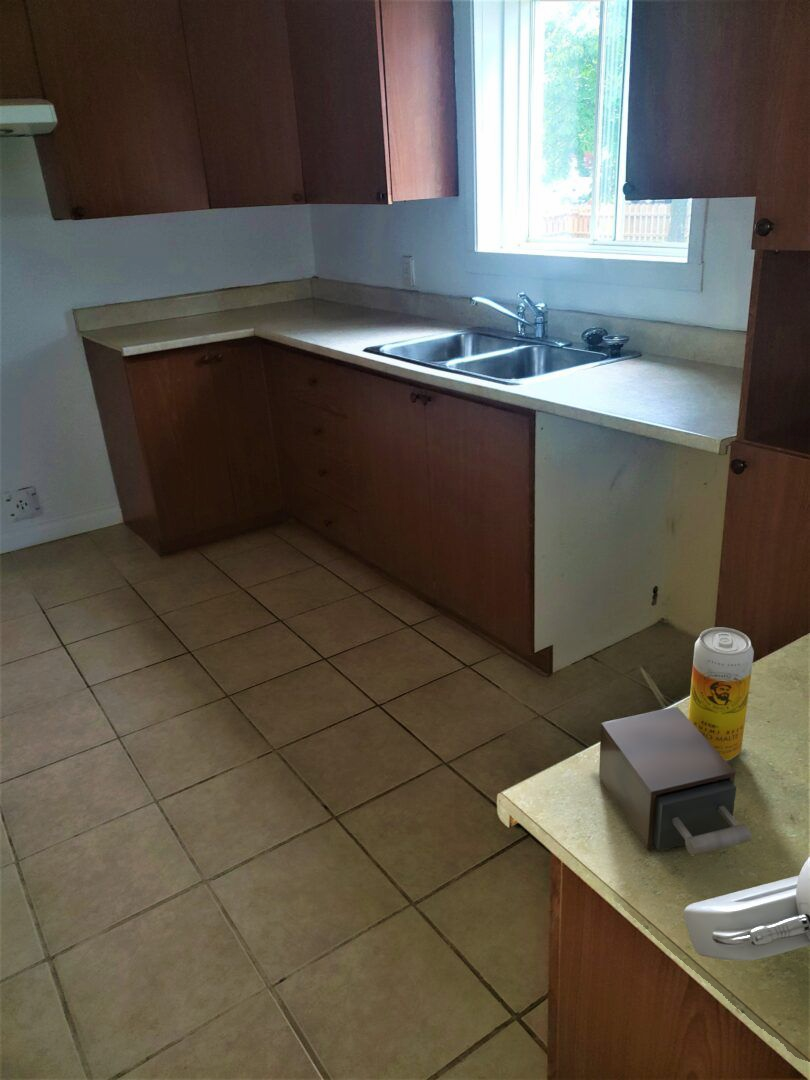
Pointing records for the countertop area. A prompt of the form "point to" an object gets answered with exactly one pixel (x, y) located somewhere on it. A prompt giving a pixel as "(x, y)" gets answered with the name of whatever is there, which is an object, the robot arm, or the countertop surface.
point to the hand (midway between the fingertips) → (766, 896)
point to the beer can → (721, 688)
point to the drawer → (698, 818)
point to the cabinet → (655, 763)
